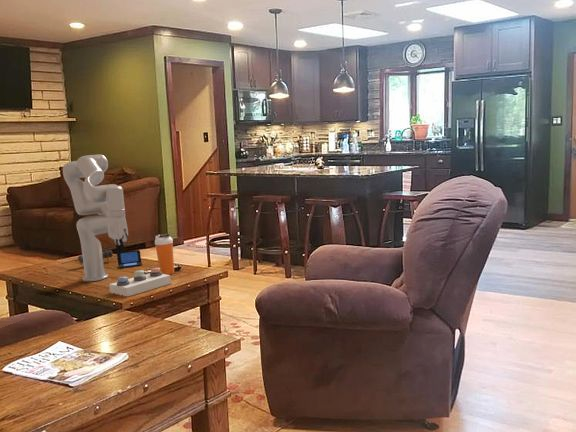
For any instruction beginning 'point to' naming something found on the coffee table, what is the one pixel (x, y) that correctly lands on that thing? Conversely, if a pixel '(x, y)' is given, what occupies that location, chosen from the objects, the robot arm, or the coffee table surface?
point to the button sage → (139, 272)
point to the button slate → (123, 279)
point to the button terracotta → (155, 270)
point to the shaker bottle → (165, 253)
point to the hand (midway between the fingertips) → (120, 252)
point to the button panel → (140, 284)
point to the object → (129, 259)
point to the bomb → (105, 255)
